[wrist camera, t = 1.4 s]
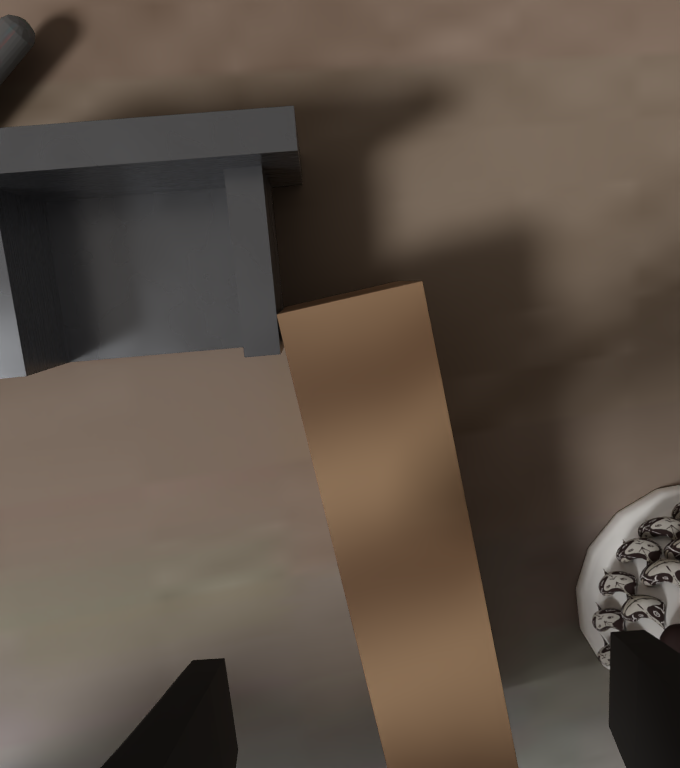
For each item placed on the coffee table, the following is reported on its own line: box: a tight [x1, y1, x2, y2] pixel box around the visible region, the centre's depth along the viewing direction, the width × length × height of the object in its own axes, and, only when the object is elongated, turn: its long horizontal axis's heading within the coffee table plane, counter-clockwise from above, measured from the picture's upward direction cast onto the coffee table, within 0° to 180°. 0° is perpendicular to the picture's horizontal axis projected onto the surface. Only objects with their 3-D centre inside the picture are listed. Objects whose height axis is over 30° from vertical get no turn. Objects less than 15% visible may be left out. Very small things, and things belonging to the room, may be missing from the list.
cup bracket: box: [0, 106, 302, 378], centre depth 17 cm, size 6×10×5 cm, turn 95°
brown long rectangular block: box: [277, 281, 518, 768], centre depth 19 cm, size 16×4×5 cm, turn 13°
